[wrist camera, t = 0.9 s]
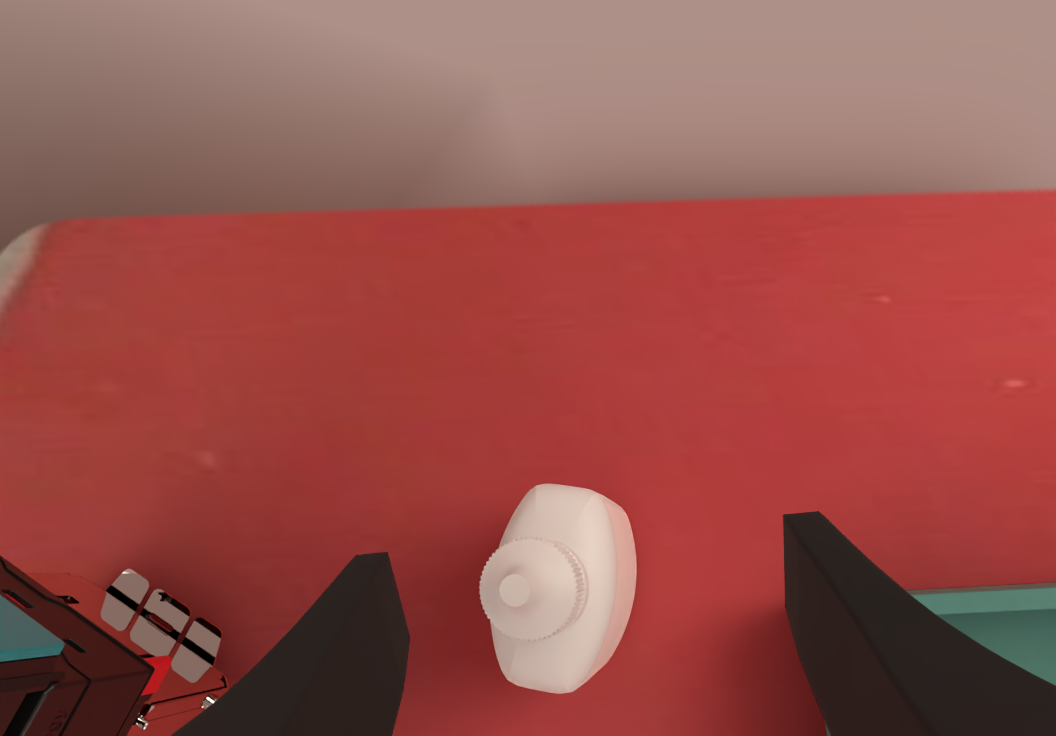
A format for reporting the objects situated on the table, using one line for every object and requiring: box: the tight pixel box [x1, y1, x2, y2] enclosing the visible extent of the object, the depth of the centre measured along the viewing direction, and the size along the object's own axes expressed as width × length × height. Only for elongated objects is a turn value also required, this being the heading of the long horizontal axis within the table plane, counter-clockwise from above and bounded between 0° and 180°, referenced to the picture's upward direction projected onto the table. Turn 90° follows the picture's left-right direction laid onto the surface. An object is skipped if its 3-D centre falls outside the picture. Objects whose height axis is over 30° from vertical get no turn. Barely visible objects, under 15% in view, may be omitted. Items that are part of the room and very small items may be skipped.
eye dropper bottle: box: [479, 483, 637, 694], centre depth 24 cm, size 4×6×12 cm
